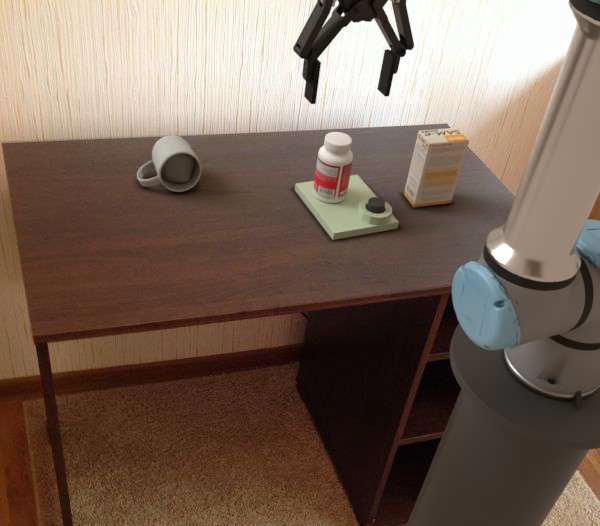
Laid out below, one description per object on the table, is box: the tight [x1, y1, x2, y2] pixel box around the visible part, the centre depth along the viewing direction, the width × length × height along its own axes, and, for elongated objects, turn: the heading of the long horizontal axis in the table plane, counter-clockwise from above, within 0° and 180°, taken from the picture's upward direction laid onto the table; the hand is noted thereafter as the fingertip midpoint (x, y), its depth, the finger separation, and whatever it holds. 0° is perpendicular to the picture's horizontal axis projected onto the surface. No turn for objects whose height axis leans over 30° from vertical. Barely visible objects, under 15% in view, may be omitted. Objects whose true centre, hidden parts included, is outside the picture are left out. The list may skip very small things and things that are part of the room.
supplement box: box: [403, 127, 470, 208], centre depth 137 cm, size 8×5×13 cm, turn 111°
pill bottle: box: [313, 131, 354, 203], centre depth 132 cm, size 6×6×11 cm
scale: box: [294, 174, 400, 241], centre depth 135 cm, size 16×13×3 cm
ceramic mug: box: [136, 134, 202, 193], centre depth 133 cm, size 11×8×8 cm
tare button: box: [367, 196, 386, 214], centre depth 132 cm, size 3×3×2 cm
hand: (347, 96), depth 123 cm, fingers open, 13 cm apart
